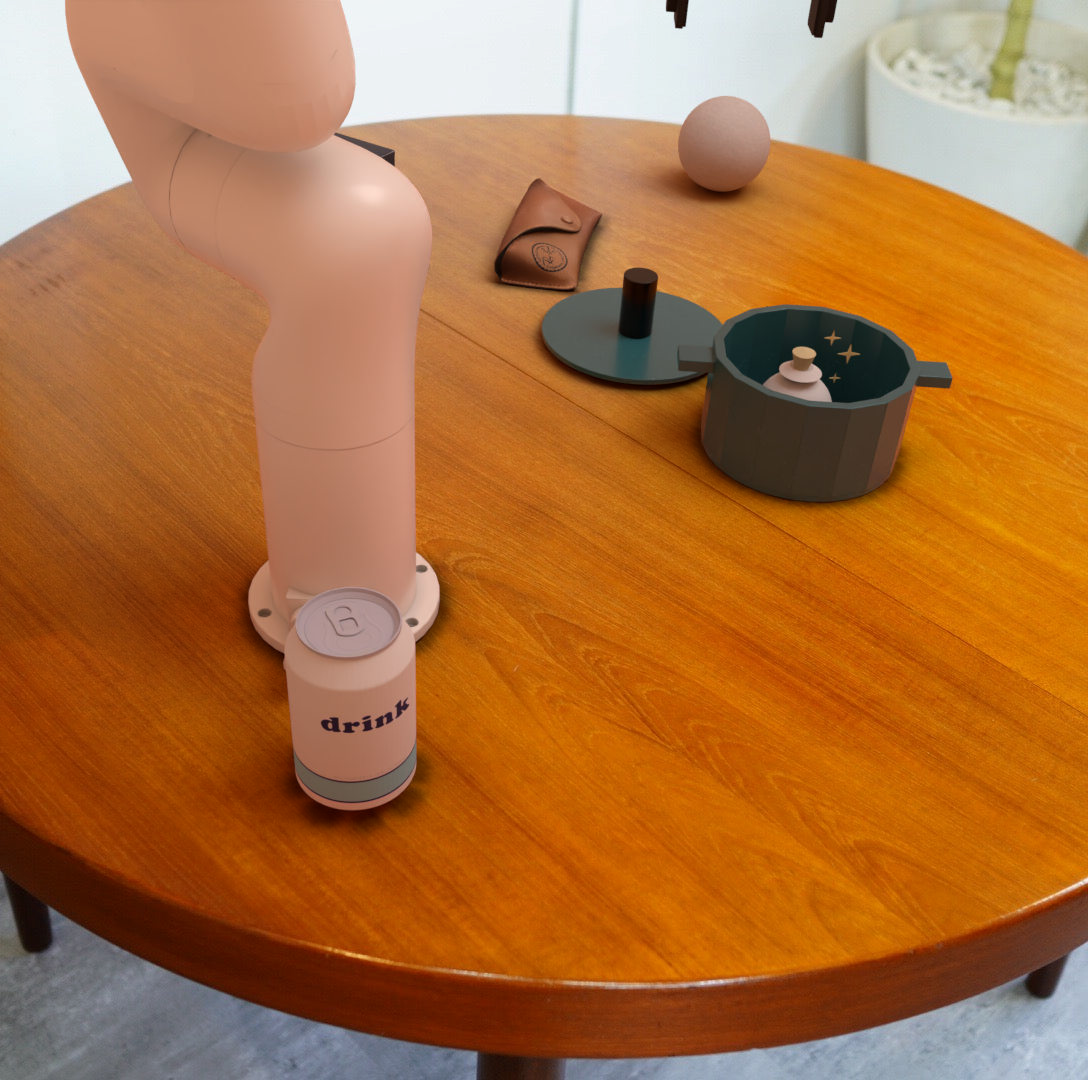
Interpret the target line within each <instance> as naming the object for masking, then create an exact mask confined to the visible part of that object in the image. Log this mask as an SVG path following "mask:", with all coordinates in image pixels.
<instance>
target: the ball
mask: <svg viewBox="0 0 1088 1080" xmlns="http://www.w3.org/2000/svg"><path fill="white" fill-rule="evenodd" d="M677 150H678V151H677V153H678V157H679V160H680V163H681V167H682V168H683V170H684V171H685V173H686V175H687V176H688V177H689V178H690V179H691V180H692V181H693V182H695V183H696V184H697V185H699V186H700V187H702V188H704V189H707V190H710V191H712V192H721V193H723V192H731V191H735V190H738V189H741V188H744V187H745V186H747V185H748V184H750V183H751V182H753V181H754V180H755V179H756V178H757V177H758V176H759V175H760V173H761V172H762V170H763V169H764V168H765V166H766V163H767V162H768V158H769V156H770V150H771V133H770V128H769V124H768V122H767V120H766V118H765V116H764V115H763V114H762V112H761V111H760V110H759V108H757V107H756V106H755V105H754V104H752V103H750V102H749V101H748V100H745V99H743V98H741V97H737V96H733V95H719V96H715V97H711V98H709V99H706V100H704V101H702V102H701V103H699V104H697V106H695V107H694V108H693V109H692V110H691V111H690V112H689V114H687V116H686V117H685V120H684V121H683V124H682V125H681V128H680V131H679V134H678V141H677Z"/></svg>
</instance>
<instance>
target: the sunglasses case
mask: <svg viewBox="0 0 1088 1080" xmlns="http://www.w3.org/2000/svg"><path fill="white" fill-rule="evenodd" d="M602 216H603V213H602V212H601V211H600V212H599V211H598V210H596V209H594V208H592V207H589V206H588V205H586V204H583V203H582V202H580V201H578V200H576V199H575V198H572V197H570V196H568V195H566V194H565V193H563V192H561V191H559V190H556V189H555V188H553V187H551V186H549V185H548V184H547V183H546V182H545V181H544V180H543V179H542V178H540V177H538V178H535V179H534V180H533V181H532V182H531V183H530V184H529V186H528V188H527V190H526V192H525V194H524V195H523V197H522V199H521V200H520V202H519V204H518V206H517V208H516V210H515V213H514V214H513V216H512V218H511V221H510V222H509V224H508V227H507V230H506V232H505V234H504V236H503V238H502V240H501V243H500V246H499V248H498V252H497V255H496V258H495V260H494V269H493V270H494V273H495V275H496V276H497V277H498V279H499V281H500V282H502V283H504V284H507V285H515V286H518V287H524V288H531V289H538V290H539V289H540V290H556V291H557V290H558V291H568V290H573V289H577V288H578V285H579V279H580V272H581V266H582V261H583V259H584V255H585V252H586V250H587V246H588V245H589V242H590V238H591V236H592V234H593V233H594V230H595V229H596V227H597V226H598V224H599V222H600V220H601V218H602Z"/></svg>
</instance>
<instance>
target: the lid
mask: <svg viewBox="0 0 1088 1080" xmlns="http://www.w3.org/2000/svg"><path fill="white" fill-rule="evenodd" d="M658 282H659V275H658V273H657V272H656V271H654V270H653V269H650V268H646V267H631V268H628V269H626V270H625V271H624V273H623V278H622V287H604V288H597V289H591V290H586V291H581V292H577V293H575V294H572V295H569V296H568V297H565V298H563V299H561V300H560V301H557V302H556V303H554V305H552V307H550V308H549V309H548V311H547V312H546V313H545V315H544V317H543V319H542V322H541V338H542V340H543V343H544V345H545V346H546V349H548V350H549V352H550V353H551V354H552V355H553V356H554V357H556V358H557V359H558V360H559V361H561V362H562V363H563V364H564V365H567V366H568V367H570V368H571V369H574V370H576V371H578V372H580V373H583V374H585V375H588V376H592V377H595V378H598V379H602V380H605V381H610V382H615V383H620V384H622V383H623V384H630V385H644V386H645V385H646V386H647V385H648V386H649V385H650V386H652V385H667V384H674V383H681V382H684V381H689V380H692V379H695V378H698V377H701V376H702V375H704V374H706V373H704V372H689V371H678V362H677V351H678V345H689V346H704V347H712V346H713V339H714V336H715V335H716V333H717V332H718V331H719V329H720V328H721V327H722V325H723V323H722V322H721V321H720V319H719V318H717V317H716V316H715V315H714V314H713V313H711V312H710V311H709V310H707V308H704V307H703V306H701V305H700V304H697V303H695V302H693V301H691V300H688V299H686V298H683V297H681V296H678V295H674V294H671V293H667V292H663V291H658V285H659V284H658Z"/></svg>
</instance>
